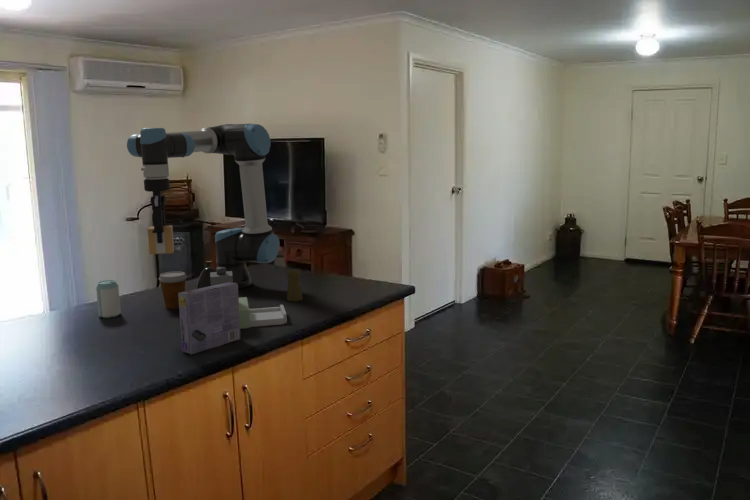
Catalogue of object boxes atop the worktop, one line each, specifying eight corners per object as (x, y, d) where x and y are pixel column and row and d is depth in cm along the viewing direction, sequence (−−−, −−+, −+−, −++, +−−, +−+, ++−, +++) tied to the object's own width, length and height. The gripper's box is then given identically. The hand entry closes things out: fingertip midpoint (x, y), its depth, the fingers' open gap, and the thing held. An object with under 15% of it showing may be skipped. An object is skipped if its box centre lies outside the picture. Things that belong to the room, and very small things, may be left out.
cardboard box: (151, 250, 204) (149, 226, 203) (174, 249, 206) (172, 225, 204) (149, 254, 198) (147, 229, 197) (173, 253, 200) (171, 228, 199)
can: (112, 311, 223) (109, 278, 221) (125, 314, 219) (122, 280, 217) (94, 316, 217) (91, 282, 215) (107, 319, 213) (104, 285, 211)
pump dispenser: (219, 313, 219) (216, 270, 216) (191, 312, 221) (188, 269, 218) (231, 305, 229) (229, 264, 226) (204, 304, 231) (202, 263, 228)
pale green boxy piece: (205, 317, 215) (202, 265, 212) (282, 311, 221) (280, 260, 218) (204, 331, 200) (201, 275, 197) (287, 324, 206) (285, 270, 203)
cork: (304, 300, 235) (303, 271, 233) (288, 302, 233) (287, 272, 231) (300, 296, 241) (299, 268, 239) (284, 298, 239) (283, 269, 237)
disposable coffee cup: (167, 311, 222) (164, 278, 220) (156, 306, 230) (154, 273, 227) (192, 306, 228) (190, 274, 226) (182, 301, 235) (179, 270, 233)
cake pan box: (234, 335, 196) (231, 279, 193) (244, 338, 193) (241, 282, 190) (180, 352, 181) (176, 292, 178) (190, 356, 178) (186, 295, 175)
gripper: (146, 176, 206) (152, 246, 210) (140, 180, 188) (146, 257, 192) (171, 175, 208) (176, 245, 212) (166, 180, 190) (172, 255, 194)
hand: (161, 250), depth 202 cm, fingers closed on cardboard box, 6 cm apart
